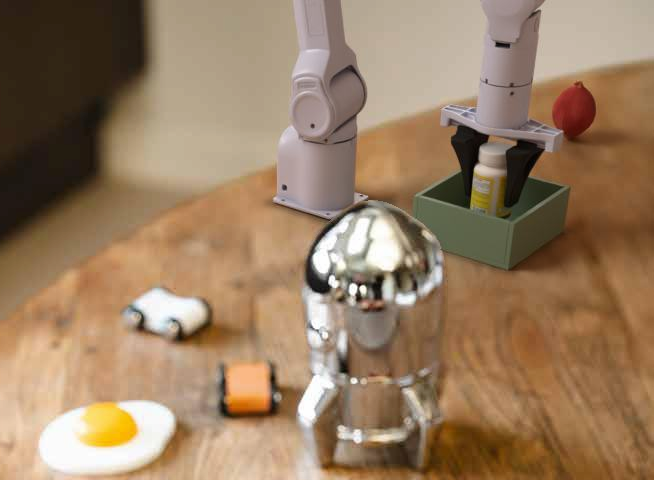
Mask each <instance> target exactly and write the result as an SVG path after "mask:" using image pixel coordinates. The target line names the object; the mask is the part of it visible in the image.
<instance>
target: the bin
mask: <svg viewBox="0 0 654 480" xmlns="http://www.w3.org/2000/svg"><path fill="white" fill-rule="evenodd" d="M571 188H572V186H570V185H566V184H563V183H559V182H555V181H553V180H547V179H544V178H540V177H537V176H533V175H529V176H528V178H527V180H526V182H525V185H524V187H523V190H522V192H521V195H520V198H519V201H518V203H517V204H515V205H514V206H512V207H511V215H510V219H509V220H506V219H502V218H499V217H495V216H492V215H488V214H485V213H481V212H478V211H474V210H471V209H470V205H471V196H470V197H468V196H465V190H464V183H463V177H462V172H461V167H460V168H459V169H456V170H455V171H453V172H452V173H450V174H448V175H447V176H445V177H443V178H442V179H440V180H438V181H436V182H434V183H433V184H431V185H429V186H428V187H426V188H424V189H423V190H421V191H419V192H418V193H416V194H414V195H413V201H412V202H413V203H412V214H411V215H412V216H411V218H412V217H414V218H415V219H417V220H418V221H420V222H421V223H423V224H424V225H425V226H426V227H427V228H428V229H430V231H431V232H432V233H433V234H434V235H435V236H436V238H437V240H438V241H439V243H440V246H441V248H442V250H441V251H444V252H448V253H450V254H454V255H457V256H460V257H464V258H467V259H469V260H472V261H473V260H474V261H477V262H480V263H483V264H486V265H490V266H493V267H496V268H499V269H502V270H505V271H510V270H511V269H512V268H514V267H515V266H516V265H518V264H519V263H521V262H522V261H524V260H525V259H526V258H528V257H529V256H531V255H533V253H534V252H536V251H538V250H539V249H540V248H542V247H543V246H545V245H546V244H548V243H549V242H551V241H552V240H553V239H554V238H556V237H557V236H559V235H560V234H562V233H563V232H564V231H565V225H566V219H567V213H568V207H569V201H570V195H571Z"/></svg>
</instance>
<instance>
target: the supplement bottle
mask: <svg viewBox="0 0 654 480" xmlns="http://www.w3.org/2000/svg"><path fill="white" fill-rule="evenodd" d="M513 146H514V145H513V144H511V143H508V142H505V141H488V143H484V144H482V145H481V146H480V149H479V155H478V160H479V161H478V162H477V163H476V164H475V167H474V174H473V184H472V194H471V205H470V209H471V210H474V211H478V212H481V213H485V214H488V215H492V216H495V217H499V218H502V219H506V220H509V219H510V215H511V208H508V207H505V206H504V198H505V191H506V184H507V162H506V155H505V153H506V150H508V149H509V148H511V147H513Z"/></svg>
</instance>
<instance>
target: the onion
mask: <svg viewBox="0 0 654 480" xmlns="http://www.w3.org/2000/svg"><path fill="white" fill-rule="evenodd" d="M596 105H597V104H596V101H595V97H594V95H593V94H592V92H591V91H590V90H589V89H588V88H587V87H585V86H584V84H583V80H581V79H577V80H575V81H574V83H573V85H571V86H569V87H567V88H566V89H564V90H563V91H562V92H561V93H560V94H559V96H558V97H556V99H555V101H554V103H553V105H552V109H551V118H552V122H553V125H554V127H555V129H558V130H562V131H564V133H563V137H564V138H565V139H567V140H574V139H575V138H577V137H578V136H580V135H581V134H583V133H585V132H586V131H587V130H588V129H590V128H591V126H592V124H593V123H594V121H595V119H596V116H597V106H596Z"/></svg>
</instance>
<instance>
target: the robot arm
mask: <svg viewBox="0 0 654 480" xmlns="http://www.w3.org/2000/svg"><path fill="white" fill-rule="evenodd" d="M545 2H546V0H480V6H481V9H482V11H483V13H484V15H485V16H486V25H485V33H484V37H483V46H482V54H481V56H482V57H481V66H480V75H479V84H478V93H477V101H476V102H477V103H476V107H473V106H464V105H456V104H452V103H450V104H448V105H445V106H444V107H442V108H441V111H440V121H439V126H441V127H445V128H449V127H456V130H455V133H454V134H453V135H451V136H450V145H451V147H452V148H453V151H454V153H455V155H456V158H457V160H458V164H459V167H460V168H461V172H462V177H463V183H464V190H465V196H468V197H470V196H471V194H472V184H473V174H474V167H475V164H476V163H477V162H478V161H479V160H478V155H479V149H480V146H481V145H482V144H484V143H488V142H489V139H490V136H492V137H495V138H498V139H503V140H508V141H512V142H516V145H512V146H513V147H511V148H509V149H508V150H506V153H505V155H506V162H507V184H506V191H505V198H504V206H505V207H508V208H511V207H512V206H514V205H515V204H517V203H518V201H519V198H520V195H521V192H522V190H523V187H524V185H525V182H526V180H527V178H528V176H530V174H531V173H532V170H533V169H534V167H535V165H536V164H537V162H538V160H539V159H540V157H542V155H543V153H544V152H546V153H549V154H554V153H556V152H557V151H559V150H561V149H562V146H563V139H564V135H563V133H564V131H562V130H558V129H557V128H556V127H555V128H554V127H552V126H549V125H547V124H545V123H543V122H540V121H538V120H536V119H533V118H531V117H529V111H530V110H529V109H530V103H531V97H532V89H533V82H534V75H535V68H536V60H537V52H538V44H539V37H540V35H539V31H540V25H541V24H540V23H541V18H542V17H541V16H542V10H541V9H539V8H540V7H541V6H542V5H543V4H544V3H545ZM292 5H293V12H294V13H293V14H294V20H295V28H296V36H297V43H298V50H299V54H298V57H297V59H296V62H295V65H294V68H293V70H292V73H291V77H290V81H291V96H290V100H289V104H288V117H289V121H290V123H291V124H290V125H289V126H288V127H287V128H286V129H284V131H283V132H282V134H281V136H280V139H279V142H278V145H277V150H276V151H277V152H276V196H274V197H273V198H272V202H273V203H274V204H277V205H282V206H285V207H288V208H291V209H294V210H297V211H300V212H304V213H306V214H307V213H308V214H310V215H314V216H317V217H320V218H323V219H327V220H330V219H332V218H333V217H335V216H336V215H337V214H339V213H340V212H342V211H343V210H345V209H346V208H348V207H349V206H351V205H353V204H356V203H358V202H361V201H365V200H367V201H369V196H368V195H365V194H362V193H360V192H356V174H357V173H356V172H357V171H356V168H357V146H358V145H357V144H358V123H357V121H358V115H359V114H360V113H361V112H362V111H363V110H364V108H365V106H366V103H367V101H368V87H367V83H366V81H365V78H364V77H363V75H362V73H361V72H360V71H361V70H359V66H358V61H357V54H356V52H355V51H354V50H353V49H352V48H351V47H350V46H349V44H348V43H347V41H346V36H345V27H344V18H343V9H342V1H341V0H292ZM330 221H331V220H330Z"/></svg>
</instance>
